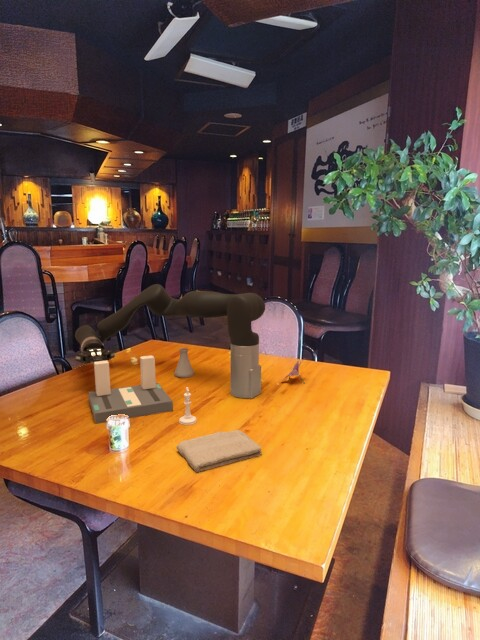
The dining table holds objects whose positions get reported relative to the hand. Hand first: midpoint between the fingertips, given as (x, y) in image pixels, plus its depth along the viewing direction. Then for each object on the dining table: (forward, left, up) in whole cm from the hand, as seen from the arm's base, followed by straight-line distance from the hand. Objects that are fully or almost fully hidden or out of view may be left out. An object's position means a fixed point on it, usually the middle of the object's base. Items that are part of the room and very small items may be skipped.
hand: (98, 362), depth 137 cm
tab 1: (-5, +3, -8) cm, 10 cm away
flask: (-8, -32, -12) cm, 35 cm away
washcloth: (-53, +9, -12) cm, 55 cm away
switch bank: (-13, 0, -12) cm, 18 cm away
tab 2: (-13, -9, -8) cm, 18 cm away
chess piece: (-35, -1, -12) cm, 37 cm away
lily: (-46, -48, -12) cm, 67 cm away
